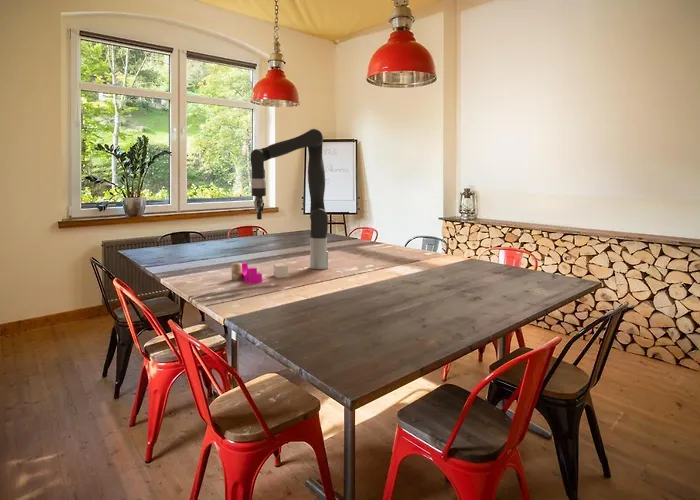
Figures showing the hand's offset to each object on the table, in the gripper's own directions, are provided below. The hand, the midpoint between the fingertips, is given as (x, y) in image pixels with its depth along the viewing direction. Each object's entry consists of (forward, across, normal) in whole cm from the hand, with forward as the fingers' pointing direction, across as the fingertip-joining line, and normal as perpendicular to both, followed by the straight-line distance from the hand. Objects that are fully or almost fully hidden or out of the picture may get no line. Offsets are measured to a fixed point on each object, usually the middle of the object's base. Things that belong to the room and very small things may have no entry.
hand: (259, 219), depth 249 cm
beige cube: (+27, -23, -5) cm, 36 cm away
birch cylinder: (+27, -23, +17) cm, 40 cm away
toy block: (+27, -26, +11) cm, 39 cm away
